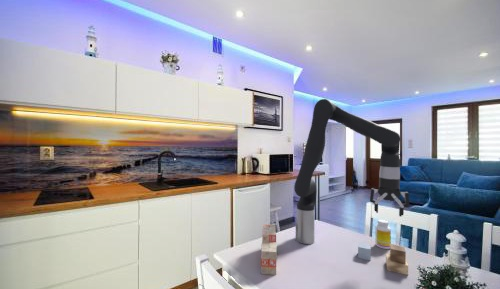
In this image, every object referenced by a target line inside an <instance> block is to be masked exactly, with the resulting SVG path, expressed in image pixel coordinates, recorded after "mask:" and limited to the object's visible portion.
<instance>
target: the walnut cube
mask: <svg viewBox="0 0 500 289" xmlns="http://www.w3.org/2000/svg"><path fill="white" fill-rule="evenodd" d="M406 253H407V251H406V247H405V246H401V245H397V244H392V243H391V244H390V249H389V254H390V259H391V261H393V262H398V263H402V264H406V261H407V257H406V255H407V254H406Z"/></svg>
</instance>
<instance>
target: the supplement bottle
mask: <svg viewBox="0 0 500 289" xmlns="http://www.w3.org/2000/svg"><path fill="white" fill-rule="evenodd" d="M374 230H375V231H374V232H375V238H374V239H375V241H374V243H375V245H376V246H377V247H378V248H380V249H384V250H390V244H392V243H391V242H392V241H391V240H392V237H391V236H392V232H391V231H392V228H391V227H390V226H389V221H388V220H385V219H377V224H376V225H375V229H374Z"/></svg>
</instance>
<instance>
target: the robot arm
mask: <svg viewBox="0 0 500 289" xmlns="http://www.w3.org/2000/svg"><path fill="white" fill-rule="evenodd" d="M311 120H312V121H311V126H310V129H309V133H308V136H307V140H306V144H305V147H304V152H303V156H302V161H301V164H300V168H299V172H298V174H297V175H296V176H297V177H296V179H295V182H294V186H293V188H294V189H293V190H294V192H295V194H296V195H297V196H298V197H299V199H298V201H297V203H296V222H295V241H296V242H299V243H300V244H304V245H311V244H314V243H315V206H316V203H317V191H318V190H317V184H316V182H315V180H314V179H313V178H312V177H313V175H314V172H315V171H316V169H317V167H318V166H319V164H320V162H321V160H322V158H323V155H324V152H325V147H326V130H327V125H328V122H329V120H331V121H334V122H337V123H339V124H341V125H344V126H345V127H347V128H348V129H350V130H351V131H354V132H355V133H357V134H360V135H361V136H364V137H365V138H368V139H371V140H372V141H375V142H376V143H378V144H381V145H380V146H381V149H380V150H381V155H380V163H379V164H380V166H379V173H378V175H379V177H378V178H379V179H378V189H376V188H374V187H372V188H371V189H370V197H369V202H370V203H372V204H374V212H375V213H376V214H378V213H379V204H380V202H381V201H383V200H384V201H390V202H394V201H395V202H396V203H397V204H398V205H399V207H398V216H399V217H402V216H404V210H405V208H409V207H410V194H409V192H408V191H401V190H400V189H401V188H400V187H401V170H400V169H401V168H400V164H401V160H400V146H401V145H400V144H401V136H400V134H399V133H398V132H396V131H395V130H392V129H389V128H387V127H385V126H381V125H379V124H377V123H375V122H373V121H371V120H370V119H366V118H364V117H361V116H359V115H356V114H353V113H351V112H348V111H347V110H344V109H342V108H341V107H339V106H338V105H336V104H335V103H334V102H333V101H331V100H330V99H327V98H321V99H320V100H318V101H317V102H316V103H315V104H314V107H313V113H312V119H311ZM377 193H378V194H379V195H378V196H377V198H376V199H374V197H375V196H374V195H375V194H377ZM400 196H402V197H403V198H404V203H403V202H402V201H401V200H400V199H399V197H400Z"/></svg>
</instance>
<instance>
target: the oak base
mask: <svg viewBox="0 0 500 289" xmlns="http://www.w3.org/2000/svg"><path fill="white" fill-rule="evenodd" d="M385 262H386V263H385V264H386V271H389V272H393V273H394V272H395V273H397V274H401V275H406V276H409V264H408V262H407V260H406V264H402V263H398V262H393V261H391V259H390V253H385Z"/></svg>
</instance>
